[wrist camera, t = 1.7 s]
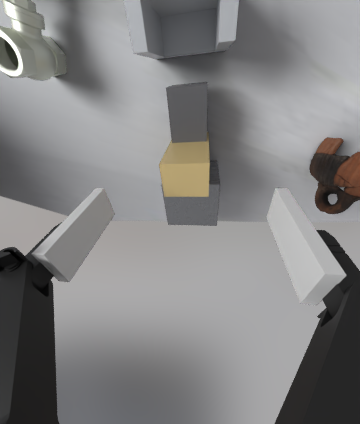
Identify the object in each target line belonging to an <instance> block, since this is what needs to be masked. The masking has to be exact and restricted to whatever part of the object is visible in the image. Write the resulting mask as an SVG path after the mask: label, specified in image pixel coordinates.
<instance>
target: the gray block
mask: <svg viewBox="0 0 360 424" xmlns="http://www.w3.org/2000/svg"><path fill="white" fill-rule="evenodd" d="M219 190H220V181H219V173H218V164H217V161H210V167H209V197H164V191H163V185H162V191H163V197H164V203H165V209H166V215H167V220H168V224H170V225H210V226H216V225H217V216H218V203H219Z"/></svg>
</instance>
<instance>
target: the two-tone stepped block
mask: <svg viewBox="0 0 360 424" xmlns="http://www.w3.org/2000/svg"><path fill="white" fill-rule="evenodd" d="M166 91H167V100H168V109H169V119H170V128H171V137H172V140H171V142H170V144H169V146H168V148H167V150H166V152H165V154H164V156H163V158H162V160H161V162H160V164H159V167H160V173H161V179H162V185H163V191H164V197H209V167H210V159H209V132H207V91H208V83H207V82H202V83H191V84H181V85H172V86H169V87H167V88H166Z"/></svg>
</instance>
